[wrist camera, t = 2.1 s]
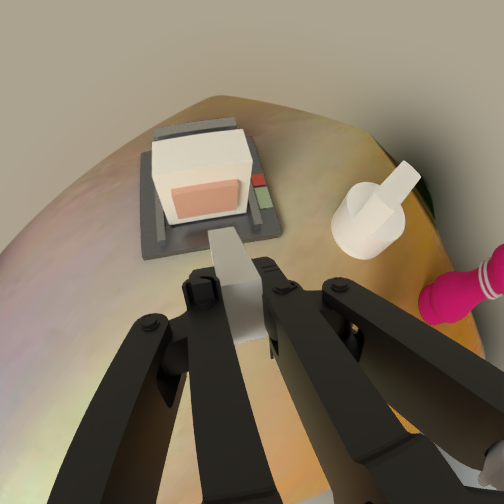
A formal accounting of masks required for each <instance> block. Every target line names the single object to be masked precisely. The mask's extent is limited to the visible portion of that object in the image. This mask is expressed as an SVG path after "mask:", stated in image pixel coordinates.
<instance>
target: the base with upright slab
mask: <svg viewBox="0 0 504 504" xmlns="http://www.w3.org/2000/svg"><path fill="white" fill-rule="evenodd" d="M420 178H421V176H420V175H419V173H418V172H417V171H416V170H415V169H414V168H413V167H412V166H411V165H409V164H408V163H407V162H405V161H403V162H402V163H401V164H400V165H399V166H398V167H397V168H396V169H395V170H394V171H393V172H392V173H391V174H390V175H389V177H388V178H387V179H386V180H385V181H384V182H383V183H382V184H381V185H378V184H375V183H372V182H362V183H357V184H356V185H354V186H353V187H352V188H351V189H350V190H349V192H348V193H347V195H346V196H345V198H344V200H343V201H342V203H341V204H340V206H339V207H338V209H337V210H336V212H335V213H334V215H333V218H332V221H331V230H332V234H333V237H334V239H335V241H336V243H337V244H338V245H339V247H340V248H341V249H342V250H343V251H344V252H346V253H347V254H348V255H350V256H352V257H354V258H357V259H362V260H366V259H372V258H374V257H376V256H377V255H378V254H380V253H381V252H382V251H383V250H385V249H386V248H387V247H388V246H389V245H391V244H392V243H393V242H394V241H395V240H396V239H398V238H399V237H400V236H401V235H402V233H403V231H404V229H405V215H404V212H403V209H402V207H401V205H400V204H401V203H402V202H403V201H404V199H405V198H406V197H407V195H408V194H409V193H410V191H411V190H412V189H413V187H414V186H415V185H416V183H417V182H418V180H419V179H420Z"/></svg>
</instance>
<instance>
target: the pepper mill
mask: <svg viewBox="0 0 504 504" xmlns="http://www.w3.org/2000/svg"><path fill="white" fill-rule="evenodd" d="M502 295H504V244H502V245H500V246H499V247H498V248H496V249H495V251H494V252H493V255H492V257H489V258H487V259H486V260H483V261H482V262H481V264H480V266H479V267H478V268H477V269H475V270H472V271H469V272H456V271H453V272H447V273H445V274H442V275H440V276H439V277H438V278H437V279H436V280H435V282H434V283H432V284H430V285H428V286H426V287H425V288H424V289H423V290H422V291H421V293H420V296H419V310H420V313H421V315H422V317H423V319H424V320H425V321H426V322H427V323H429V324H431V325H437V324H440V323H443V322H446V323H455V322H457V321H459V320H461V319H463V318H464V317H465V316H467V315H468V313H469V312H470V311H471V310H472V309H473V308H474V307H475V305H477V304H478V303H479V302H481V301H483V300H484V299H487V298H489V299H491V300H493V299H496V298H497V297H500V296H502Z"/></svg>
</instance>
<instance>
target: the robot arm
mask: <svg viewBox="0 0 504 504" xmlns="http://www.w3.org/2000/svg"><path fill="white" fill-rule="evenodd" d="M208 237H209V243H210V249H211V255H212V261H213V267H208V268H202V269H196V270H193V271H192V273H191V274H190V275H189V279H187V280H186V281H185V282H184V283H183V285H182V290H183V294H184V298H185V302H186V306H187V311H186V312H185V313H184V314H182V315H181V316H179V317H176V318H174V319H171V320H168V319H167V317H166V316H165V315H163V314H158V313H154V314H147V315H145V316H142V317H141V318H139V319H138V320H137V321H136V322H135V323H134V324H133V326H132V327H131V329H130V331H129V333H128V334H127V336H126V338H125V339H124V341H123V343H122V345H121V346H120V348H119V350H118V352H117V353H116V355H115V357H114V359H113V361H112V362H111V364H110V366H109V368H108V370H107V372H106V374H105V375H104V377H103V379H102V381H101V383H100V385H99V387H98V389H97V391H96V393H95V394H94V396H93V398H92V400H91V402H90V404H89V406H88V408H87V410H86V412H85V414H84V416H83V419H82V421H81V423H80V425H79V427H78V429H77V431H76V433H75V436H74V438H73V440H72V442H71V444H70V447H69V449H68V451H67V453H66V456H65V458H64V460H63V463H62V465H61V468H60V470H59V473H58V475H57V478H56V480H55V483H54V485H53V488H52V491H51V493H50V496H49V499H48V502H47V504H156V500H157V496H158V491H159V486H160V482H161V477H162V473H163V469H164V464H165V460H166V456H167V452H168V448H169V443H170V439H171V435H172V431H173V427H174V423H175V419H176V415H177V411H178V408H179V404H180V400H181V396H182V392H183V388H184V385H185V381H186V377H187V372H188V371H189V377H190V391H191V404H192V415H193V426H194V435H195V444H196V452H197V460H198V467H199V474H200V481H201V488H202V495H203V501H202V503H201V504H283V502H282V499H281V497H280V494H279V492H278V491H277V488H276V486H275V483H274V480H273V477H272V474H271V471H270V468H269V465H268V462H267V459H266V455H265V452H264V449H263V446H262V443H261V439H260V436H259V433H258V429H257V426H256V422H255V419H254V416H253V412H252V409H251V405H250V402H249V398H248V395H247V391H246V387H245V384H244V380H243V376H242V373H241V369H240V365H239V361H238V358H237V354H236V350H235V346H234V344H238V343H243V342H248V341H253V340H258V339H262V338H267V335H266V330H267V332H268V334H269V343H270V355H271V359H274V357H275V359H276V362H277V364H278V367H279V369H280V372H281V374H282V376H283V379H284V381H285V383H286V386H287V388H288V391H289V393H290V395H291V398H292V400H293V402H294V405H295V407H296V410H297V412H298V414H299V417H300V419H301V421H302V424H303V426H304V428H305V430H306V433H307V435H308V437H309V440H310V442H311V444H312V447H313V449H314V451H315V453H316V456H317V458H318V460H319V462H320V465H321V467H322V469H323V471H324V474H325V476H326V478H327V480H328V482H329V485H330V487H331V489H332V492H333V497H334V504H504V372H503V371H501V370H499V369H498V368H497V367H495V366H493V365H492V364H490V363H489V362H487V361H486V360H484V359H482V358H481V357H479V356H478V355H476V354H475V353H473V352H471V351H470V350H468V349H467V348H465V347H463V346H462V345H460V344H459V343H457V342H455V341H454V340H452V339H450V338H449V337H447V336H446V335H444V334H442V333H441V332H439V331H437V330H436V329H434V328H432V327H431V326H429V325H427V324H426V323H424V322H422V321H421V320H419V319H417V318H416V317H414V316H412V315H411V314H409V313H407V312H406V311H404V310H402V309H400V308H399V307H397V306H395V305H394V304H392V303H390V302H389V301H387V300H385V299H383V298H382V297H380V296H378V295H376V294H375V293H373V292H371V291H370V290H368V289H366V288H364V287H363V286H361V285H359V284H357V283H356V282H354V281H352V280H349V279H346V278H342V277H338V278H337V277H336V278H332V279H328V280H327V281H325V282H324V283H323V285H322V290H318V291H306V290H303V289H302V287H301V286H300V285H299V284H298V283H297V282H294V281H291V280H288V279H287V278H286V277H285V275H284V274H283V272H282V271H281V270H280V268H279V267H278V266H277V264H276V263H275V261H274V260H273V259H271V258H269V257H260V258H255V259H251V258H250V256H249V254H248V253H247V251H246V249H245V247H244V245H243V243H242V241H241V239H240V238H239V236H238V234H237V232H236V230H235V228H234V226H233V227H227V228H221V229H215V230H209V231H208ZM353 324H354V325H356V326H357V327H358V328H359V329H358V332H357V331H355V330H354V329H352V326H353ZM273 355H274V357H273ZM388 404H389V405H390V406H391V407H392V408H393V409H395V410H396V411H397V412H398V413H399V414H400V415H402V416H403V417H404V418H405V419H406V420H408V421H409V422H410V423H411V424H412V425H414V426H415V427H416V428H417V429H418V430H420V431H421V432H422V433H423V434H424V435H423V434H411V433H409V432H407V431H406V429H405V428H404V427H403V426H402V424H401V423H400V421H399V420H398V418H397V417H396V416H395V414H394V413H393V411H392V410H391V408H390V407H389V406H388ZM425 435H426V436H425ZM430 439H431V440H432V441H433V442H434V443H435V444H437V445H438V446H439V447H441V448H442V449H443V450H444V451H445V452H447V453H448V454H449V455H450V456H452V457H453V458H455V459H456V460H457V461H459V462H461V463H462V464H464V465H466V466H468V467H471V468H473V469H477V470H480V471H481V473H480V474H479V477H478V482H479V484H480V485H481V486H487V485H489V484H490V485H491V486H493V487H495V488H496V489H497V491H496V490H488V489H481V488H474V487H468V486H464V485H463V484H462V483H461V481H460V480H459V478H458V477H457V475H456V474H455V472H454V471H453V470H452V468H451V467H450V465H449V464H448V462H447V461H446V460H445V458H444V457H443V456H442V454H441V453H440V451H439V450H438V448H437V447H436V446H435V444H434V443H433V442H432V441H431V440H430Z"/></svg>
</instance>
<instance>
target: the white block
mask: <svg viewBox="0 0 504 504" xmlns="http://www.w3.org/2000/svg"><path fill="white" fill-rule="evenodd" d="M252 163H253V160H252V157H251V154H250V150H249V147H248V144H247V141H246V138H245V134H244V131H243V129H237V130H228V131H219V132H211V133H203V134H196V135H190V136H183V137H177V138H172V139H166V140H161V141H156V142H152V178H153V181H154V184H155V187H156V190H157V193H158V196H159V199H160V201H161V204H162V207H163V210H164V212H165V215H166V218H167V220H168V223H169V225H174V224H179V223H185V222H191V221H197V220H203V219H209V218H215V217H221V216H227V215H234V214H240V213H246V209H247V201H248V193H249V186H250V178H251V171H252Z"/></svg>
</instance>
